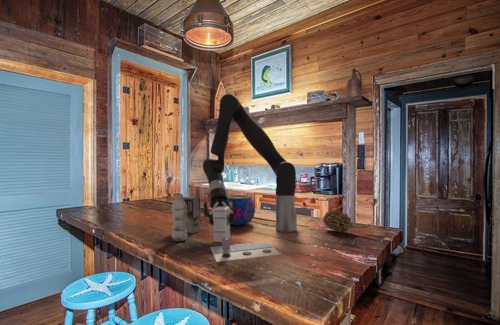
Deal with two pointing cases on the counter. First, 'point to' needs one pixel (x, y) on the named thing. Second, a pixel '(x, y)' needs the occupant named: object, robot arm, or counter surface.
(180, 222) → the plastic bottle
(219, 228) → the syrup box
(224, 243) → the peg
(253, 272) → the counter surface
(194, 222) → the coffee box
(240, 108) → the robot arm
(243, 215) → the ceramic pot
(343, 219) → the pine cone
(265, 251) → the board
